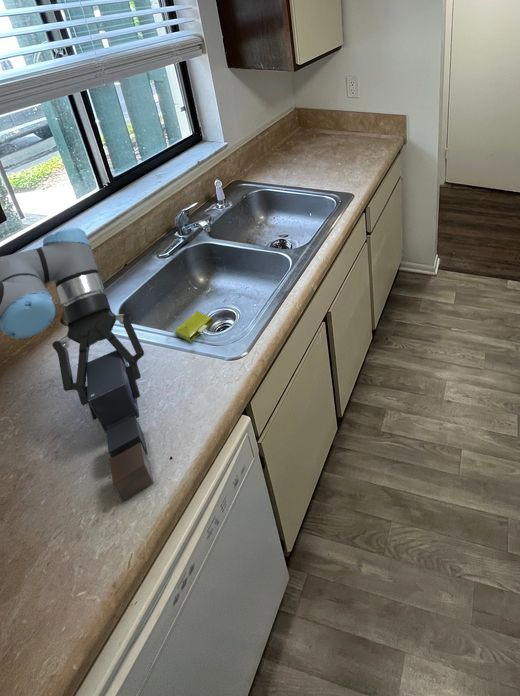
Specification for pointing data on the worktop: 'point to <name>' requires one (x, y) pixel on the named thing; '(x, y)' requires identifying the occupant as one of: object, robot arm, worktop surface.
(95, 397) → the small box
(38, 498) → the worktop surface
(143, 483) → the walnut block
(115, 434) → the charcoal block
